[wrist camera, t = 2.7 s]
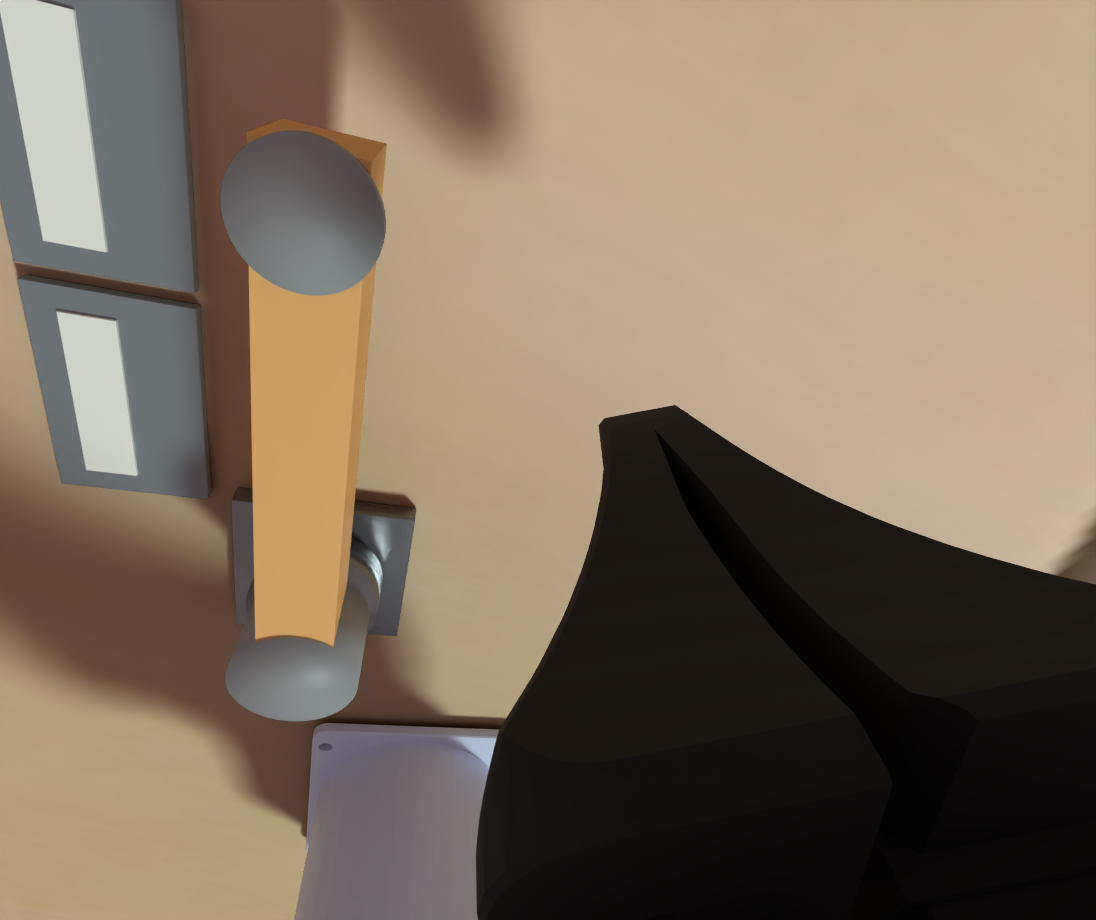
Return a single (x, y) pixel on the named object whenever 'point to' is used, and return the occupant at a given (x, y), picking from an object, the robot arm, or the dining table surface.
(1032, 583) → the robot arm
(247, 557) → the square flange plate
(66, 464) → the label
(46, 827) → the dining table surface
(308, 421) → the swing arm
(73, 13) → the label
